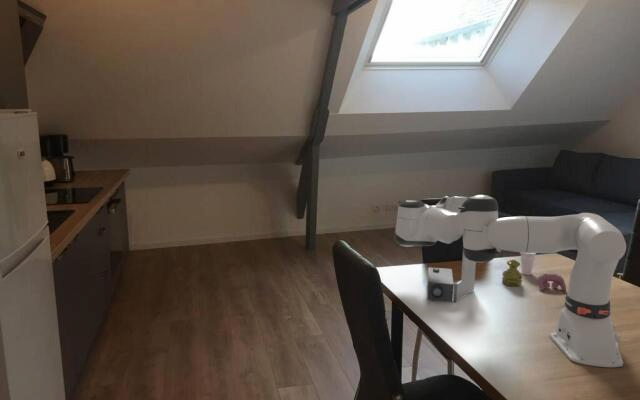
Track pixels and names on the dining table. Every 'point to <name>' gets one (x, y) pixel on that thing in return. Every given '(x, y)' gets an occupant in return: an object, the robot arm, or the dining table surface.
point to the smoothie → (527, 262)
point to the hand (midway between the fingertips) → (471, 222)
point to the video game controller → (555, 278)
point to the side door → (465, 279)
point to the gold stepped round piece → (512, 275)
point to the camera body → (440, 284)
